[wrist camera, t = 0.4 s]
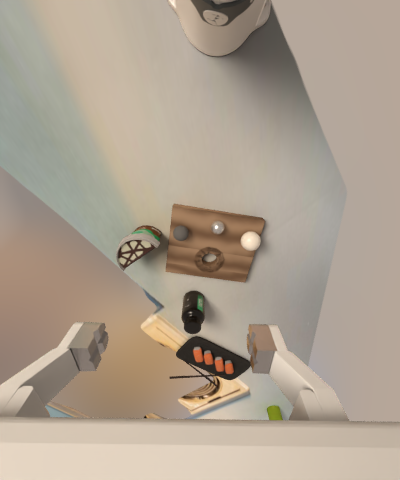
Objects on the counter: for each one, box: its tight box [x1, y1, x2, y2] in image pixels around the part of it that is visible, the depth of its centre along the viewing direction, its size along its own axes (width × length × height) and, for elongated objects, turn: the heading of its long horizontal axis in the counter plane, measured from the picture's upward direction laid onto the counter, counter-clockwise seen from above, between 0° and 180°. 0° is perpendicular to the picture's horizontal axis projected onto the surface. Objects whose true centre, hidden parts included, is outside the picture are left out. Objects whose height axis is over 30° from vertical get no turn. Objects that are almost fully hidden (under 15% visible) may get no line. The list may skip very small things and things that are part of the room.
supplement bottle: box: [182, 291, 205, 334], centre depth 63 cm, size 7×7×12 cm
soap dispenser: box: [267, 406, 283, 420], centre depth 90 cm, size 6×7×20 cm
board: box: [166, 204, 265, 282], centre depth 58 cm, size 20×24×2 cm
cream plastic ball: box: [241, 231, 261, 251], centre depth 53 cm, size 5×5×5 cm
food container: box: [116, 226, 161, 271], centre depth 53 cm, size 12×6×10 cm, turn 126°
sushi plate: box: [170, 337, 251, 386], centre depth 84 cm, size 29×30×4 cm
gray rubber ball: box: [173, 225, 189, 241], centre depth 53 cm, size 4×4×4 cm
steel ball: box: [211, 221, 225, 234], centre depth 52 cm, size 4×4×4 cm
